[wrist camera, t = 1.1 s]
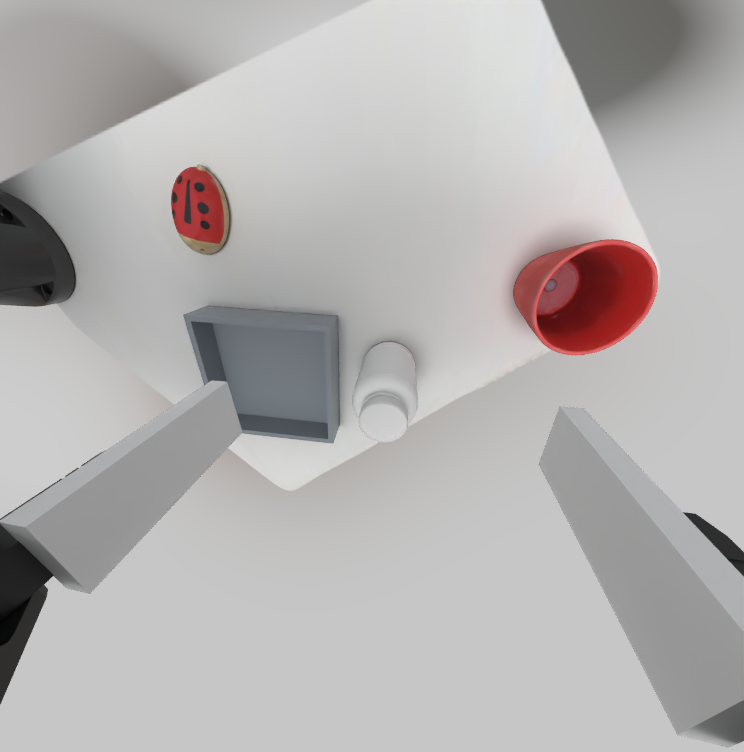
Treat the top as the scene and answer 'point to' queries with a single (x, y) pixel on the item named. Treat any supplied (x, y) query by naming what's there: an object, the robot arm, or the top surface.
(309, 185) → the top surface
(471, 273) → the top surface
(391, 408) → the pill bottle
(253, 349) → the tray
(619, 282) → the flower pot
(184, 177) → the ladybug figurine
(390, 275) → the top surface
